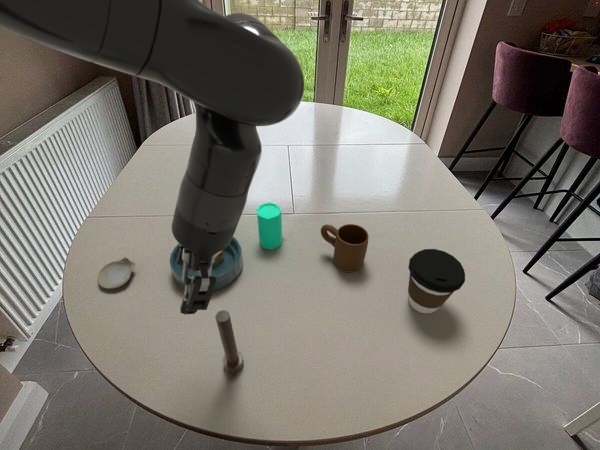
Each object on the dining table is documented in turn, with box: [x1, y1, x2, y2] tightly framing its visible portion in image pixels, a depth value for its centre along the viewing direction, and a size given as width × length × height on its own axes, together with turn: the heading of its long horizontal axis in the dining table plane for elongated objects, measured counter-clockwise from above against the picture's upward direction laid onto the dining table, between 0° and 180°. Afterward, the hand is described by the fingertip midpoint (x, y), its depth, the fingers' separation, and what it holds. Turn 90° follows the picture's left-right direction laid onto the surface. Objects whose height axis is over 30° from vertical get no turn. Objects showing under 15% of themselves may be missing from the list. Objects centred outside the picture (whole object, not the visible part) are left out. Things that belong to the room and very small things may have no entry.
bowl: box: [169, 236, 244, 292], centre depth 79 cm, size 16×16×4 cm
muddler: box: [215, 309, 245, 375], centre depth 57 cm, size 4×4×16 cm
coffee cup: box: [407, 248, 466, 315], centre depth 70 cm, size 11×11×12 cm
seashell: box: [97, 256, 136, 290], centre depth 77 cm, size 8×3×8 cm
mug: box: [320, 223, 370, 273], centre depth 81 cm, size 12×8×9 cm, turn 59°
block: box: [212, 251, 224, 266], centre depth 81 cm, size 3×3×3 cm
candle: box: [256, 201, 283, 250], centre depth 84 cm, size 6×6×12 cm
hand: (185, 286), depth 49 cm, fingers open, 8 cm apart
